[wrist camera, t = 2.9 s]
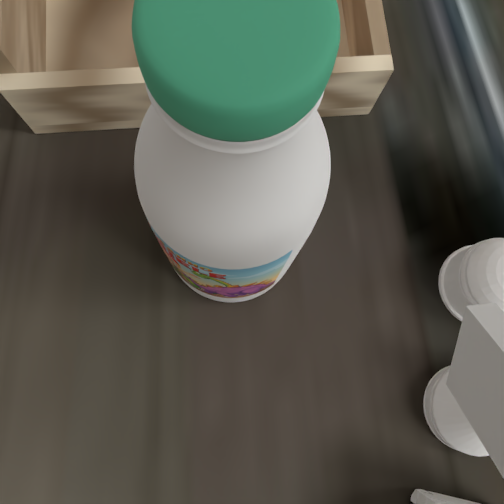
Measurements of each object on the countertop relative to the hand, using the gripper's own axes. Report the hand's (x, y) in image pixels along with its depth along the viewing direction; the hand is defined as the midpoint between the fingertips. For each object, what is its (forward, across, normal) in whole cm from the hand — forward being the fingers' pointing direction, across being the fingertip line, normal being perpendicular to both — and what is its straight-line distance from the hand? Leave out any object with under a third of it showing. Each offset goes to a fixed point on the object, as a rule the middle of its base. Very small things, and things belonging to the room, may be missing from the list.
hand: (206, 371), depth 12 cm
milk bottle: (+17, +2, -6) cm, 18 cm away
